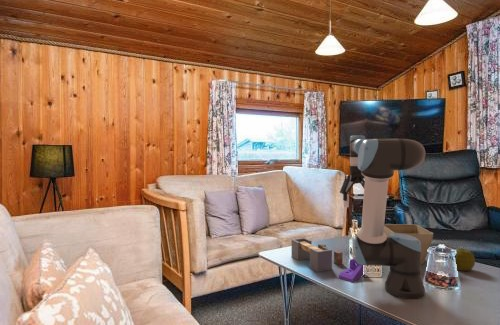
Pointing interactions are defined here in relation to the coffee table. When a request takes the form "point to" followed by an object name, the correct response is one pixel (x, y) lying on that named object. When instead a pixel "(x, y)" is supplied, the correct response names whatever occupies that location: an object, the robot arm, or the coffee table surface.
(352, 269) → the bracket
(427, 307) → the coffee table surface
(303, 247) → the slat
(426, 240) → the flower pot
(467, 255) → the apple
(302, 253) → the end caps
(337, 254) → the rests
